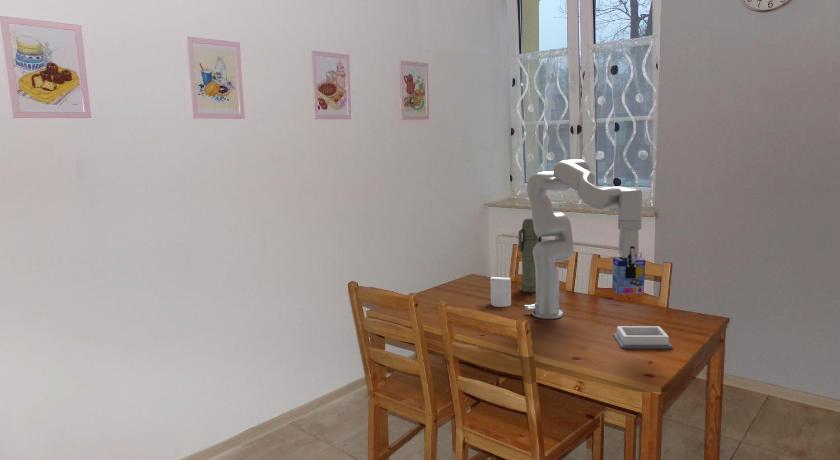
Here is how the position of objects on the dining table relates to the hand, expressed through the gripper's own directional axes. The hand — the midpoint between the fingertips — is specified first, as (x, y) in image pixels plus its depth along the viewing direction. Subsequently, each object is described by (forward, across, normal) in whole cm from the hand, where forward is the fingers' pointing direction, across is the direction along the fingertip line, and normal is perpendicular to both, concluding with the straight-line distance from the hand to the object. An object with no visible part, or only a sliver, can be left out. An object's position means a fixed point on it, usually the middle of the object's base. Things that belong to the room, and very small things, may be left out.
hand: (628, 275), depth 198 cm
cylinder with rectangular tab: (+26, -50, -45) cm, 72 cm away
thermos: (+26, -73, -30) cm, 83 cm away
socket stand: (+25, -3, +6) cm, 26 cm away
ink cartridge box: (+6, 0, 0) cm, 6 cm away
